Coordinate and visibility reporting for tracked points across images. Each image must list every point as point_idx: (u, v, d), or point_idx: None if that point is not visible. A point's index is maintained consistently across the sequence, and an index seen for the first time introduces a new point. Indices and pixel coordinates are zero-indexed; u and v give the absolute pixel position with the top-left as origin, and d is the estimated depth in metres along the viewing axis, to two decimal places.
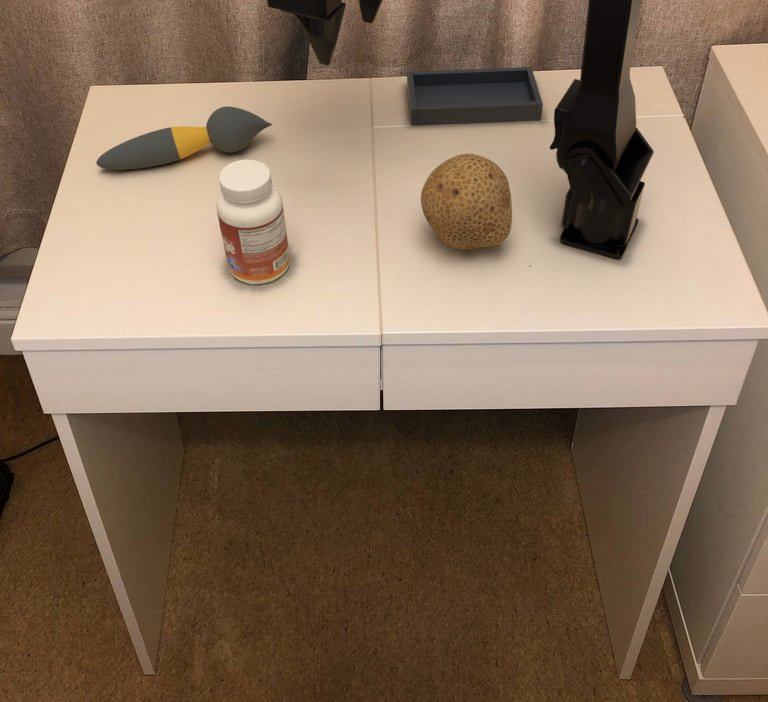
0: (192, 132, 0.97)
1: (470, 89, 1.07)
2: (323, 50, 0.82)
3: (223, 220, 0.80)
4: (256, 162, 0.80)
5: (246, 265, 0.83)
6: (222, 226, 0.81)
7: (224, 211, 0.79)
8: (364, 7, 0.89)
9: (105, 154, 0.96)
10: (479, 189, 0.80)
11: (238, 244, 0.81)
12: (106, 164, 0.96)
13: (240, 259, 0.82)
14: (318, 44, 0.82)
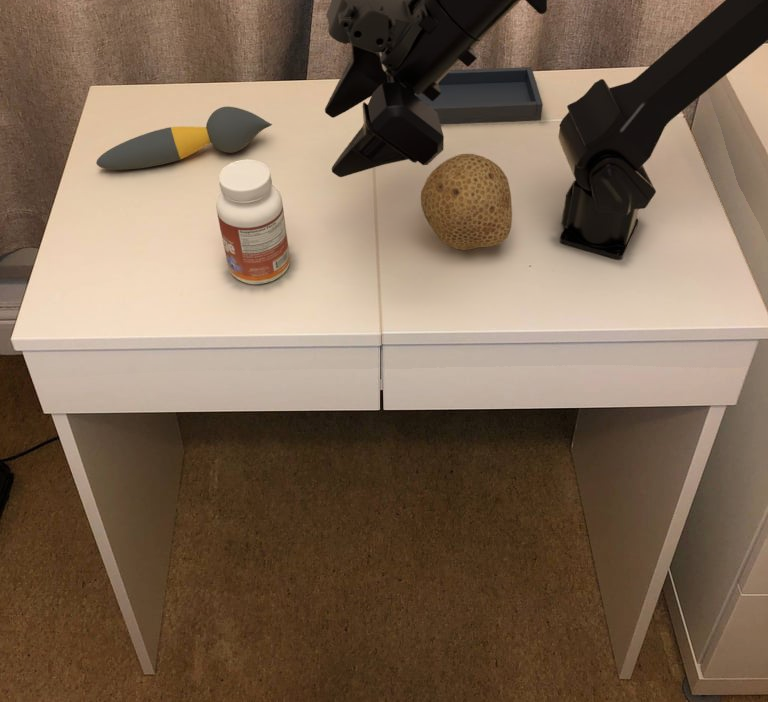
0: (192, 132, 0.97)
1: (470, 89, 1.07)
2: (353, 166, 0.73)
3: (223, 220, 0.80)
4: (256, 162, 0.80)
5: (245, 265, 0.83)
6: (222, 226, 0.81)
7: (224, 211, 0.79)
8: (335, 101, 0.80)
9: (105, 154, 0.96)
10: (479, 189, 0.80)
11: (238, 244, 0.81)
12: (106, 164, 0.96)
13: (240, 259, 0.82)
14: (355, 160, 0.73)
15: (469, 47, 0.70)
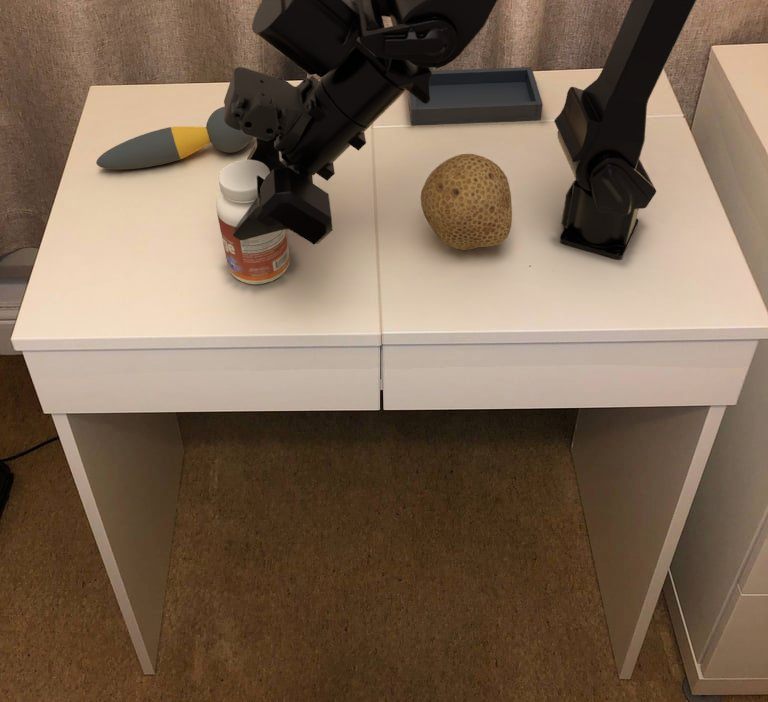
0: (192, 132, 0.97)
1: (470, 89, 1.07)
2: (252, 231, 0.78)
3: (223, 220, 0.80)
4: (256, 162, 0.80)
5: (245, 265, 0.83)
6: (222, 226, 0.81)
7: (224, 211, 0.79)
8: None
9: (105, 154, 0.96)
10: (479, 189, 0.80)
11: (238, 244, 0.81)
12: (106, 164, 0.96)
13: (240, 259, 0.82)
14: (253, 226, 0.78)
15: (358, 133, 0.74)
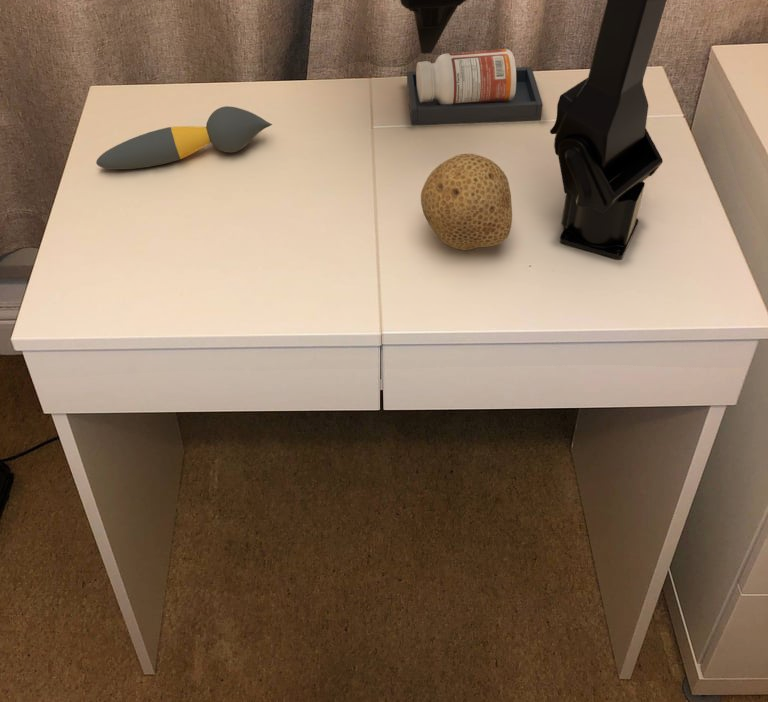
0: (192, 132, 0.97)
1: None
2: (431, 38, 0.87)
3: None
4: (417, 66, 1.02)
5: (492, 99, 1.02)
6: None
7: None
8: None
9: (105, 154, 0.96)
10: (479, 189, 0.80)
11: (471, 102, 1.02)
12: (105, 163, 0.96)
13: (486, 102, 1.02)
14: (428, 34, 0.86)
15: None
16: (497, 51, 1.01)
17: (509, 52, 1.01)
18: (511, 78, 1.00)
